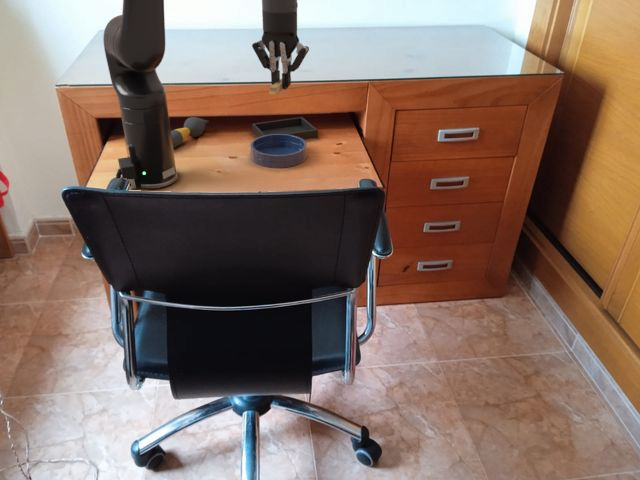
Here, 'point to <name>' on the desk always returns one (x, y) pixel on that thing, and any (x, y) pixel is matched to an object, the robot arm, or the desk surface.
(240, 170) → the desk surface
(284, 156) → the bowl
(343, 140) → the desk surface
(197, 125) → the paintbrush
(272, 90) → the wooden stick
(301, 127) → the pen tray
